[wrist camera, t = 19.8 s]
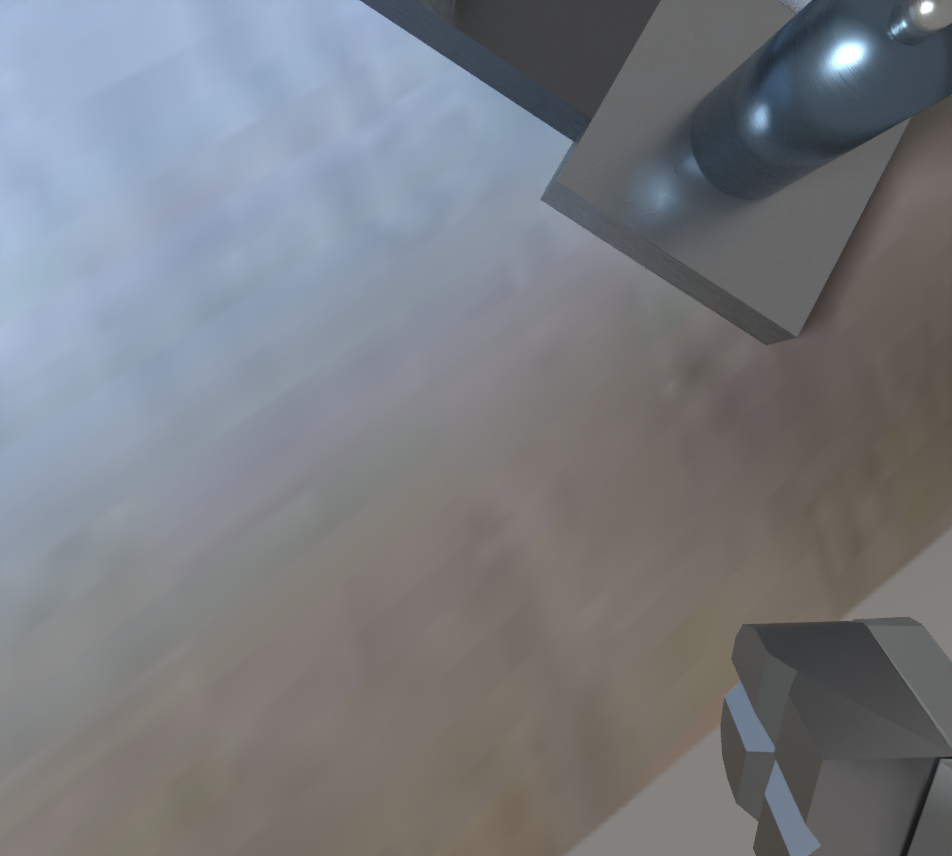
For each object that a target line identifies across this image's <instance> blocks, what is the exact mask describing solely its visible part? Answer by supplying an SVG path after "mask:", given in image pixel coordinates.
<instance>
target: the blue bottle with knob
mask: <svg viewBox="0 0 952 856" xmlns="http://www.w3.org/2000/svg"><path fill="white" fill-rule="evenodd" d="M951 94H952V0H812V1H811V2H810V3H808V4H807V5H806V6H805V7H804V8H803V9H802V10H801V11H800V12H798V13H797V14H796V15H795V16H794V17H793V18H792V19H791V20H790V21H788V22H787V23H786V24H785V25H784V26H783V27H782V28H781V29H780V30H778V31H777V32H776V33H775V34H774V35H773V36H772V37H771V38H770V39H768V40H767V41H766V42H765V43H764V44H763V45H762V46H761V47H760V48H758V49H757V50H756V51H755V52H754V53H753V54H752V55H751V56H750V57H748V58H747V59H746V60H745V61H744V62H743V63H742V64H741V65H740V66H738V67H737V68H736V69H735V70H734V71H733V72H732V73H731V74H730V75H728V76H727V77H726V78H725V79H724V80H723V81H722V82H721V83H720V84H718V85H717V86H716V87H715V88H714V89H713V90H712V91H711V92H710V93H709V94H707V95H706V96H705V97H704V99H703V100H702V101H701V103H700V104H699V106H698V107H697V109H696V112H695V114H694V117H693V121H692V125H691V146H692V151H693V155H694V157H695V160H696V163H697V165H698V167H699V169H700V170H701V172H702V173H703V175H704V176H705V177H706V178H707V180H708V181H709V182H710V183H711V184H712V185H714V186H715V187H716V188H717V189H719V190H720V191H722V192H724V193H725V194H727V195H730V196H732V197H735V198H739V199H746V200H756V199H762V198H765V197H768V196H771V195H773V194H775V193H776V192H778V191H780V190H782V189H784V188H785V187H787V186H789V185H791V184H792V183H794V182H796V181H798V180H800V179H801V178H803V177H805V176H807V175H809V174H810V173H812V172H814V171H816V170H817V169H819V168H821V167H823V166H825V165H826V164H828V163H830V162H832V161H833V160H835V159H837V158H839V157H841V156H842V155H844V154H846V153H848V152H850V151H851V150H853V149H855V148H857V147H858V146H860V145H862V144H864V143H866V142H867V141H869V140H871V139H873V138H874V137H876V136H878V135H880V134H882V133H883V132H885V131H887V130H889V129H891V128H892V127H894V126H896V125H898V124H899V123H901V122H903V121H905V120H907V119H908V118H910V117H912V116H914V115H915V114H917V113H919V112H921V111H923V110H924V109H926V108H928V107H930V106H932V105H933V104H935V103H937V102H939V101H940V100H942V99H944V98H946V97H948V96H949V95H951Z"/></svg>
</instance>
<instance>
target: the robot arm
mask: <svg viewBox="0 0 952 856" xmlns="http://www.w3.org/2000/svg"><path fill="white" fill-rule="evenodd" d="M731 659H732V662H733V664H734V666H735V669H736V671H737V673H738V676H739V678H740V680H741V681H740V682H739V683H738V684H737V685H736V686H735V687H734V688H733V689H732V690H731V691H730V692H729V693H728V694H727V695H726V696H725V697H724V703H723V710H722V718H721V725H720V726H721V742H722V756H723V760H724V765H725V769H726V774H727V778H728V781H729V784H730V787H731V790H732V793H733V795H734V798H735V801H736V803H737V804H738V805H739V806H740V807H741V808H743V809H744V810H745V811H746V812H748V813H749V814H750V815H751V816H752V817H753V818H755V819H756V820H757V821H758V822H759V823H758V827H757V832H756V837H755V841H754V846H753V849H754V852H755V854H756V856H952V662H951V661H950V659H949V658H948V657H947V656H946V654H945V653H944V652H943V651H942V649H941V648H940V646H939V645H938V644H937V643H936V641H935V640H934V639H933V638H932V637H931V635H930V634H929V632H928V631H927V630H926V629H925V627H924V626H923V625H922V624H921V623H919V622H917V621H915V620H914V619H912V618H910V617H896V618H877V619H876V618H875V619H854V620H853V621H831V622H801V623H770V624H743V625H742V627H741V628H740V630H739V632H738V634H737V636H736V638H735V643H734V648H733V653H732V658H731Z"/></svg>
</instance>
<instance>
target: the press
mask: <svg viewBox="0 0 952 856" xmlns="http://www.w3.org/2000/svg"><path fill="white" fill-rule="evenodd" d="M360 1H362V2H364V3H365V4H367V5H368V6H370V7H371V8H373V9H374V10H376V11H377V12H379V13H380V14H382V15H383V16H385V17H386V18H388V19H389V20H391V21H392V22H394V23H395V24H397V25H398V26H400V27H401V28H403V29H404V30H406V31H407V32H409V33H410V34H412V35H414V36H415V37H417V38H418V39H420V40H421V41H423V42H424V43H426V44H427V45H429V46H430V47H432V48H433V49H435V50H436V51H438V52H439V53H441V54H442V55H444V56H445V57H447V58H448V59H450V60H451V61H453V62H454V63H456V64H457V65H459V66H460V67H462V68H464V69H465V70H467V71H468V72H470V73H471V74H473V75H474V76H476V77H477V78H479V79H480V80H482V81H483V82H485V83H486V84H488V85H489V86H491V87H492V88H494V89H495V90H497V91H498V92H500V93H501V94H503V95H504V96H506V97H507V98H509V99H510V100H512V101H513V102H515V103H517V104H518V105H520V106H521V107H523V108H524V109H526V110H527V111H529V112H530V113H532V114H533V115H535V116H536V117H538V118H539V119H541V120H542V121H544V122H545V123H547V124H548V125H550V126H551V127H553V128H554V129H556V130H557V131H559V132H560V133H562V134H563V135H565V136H567V137H568V138H570V139H571V140H573V141H574V142H573V143H572V145H571V147H570V149H569V150H568V152H567V154H566V156H565V157H564V159H563V161H562V162H561V164H560V166H559V168H558V169H557V171H556V173H555V175H554V176H553V178H552V180H551V182H550V183H549V185H548V187H547V189H546V190H545V192H544V194H543V195H542V197H541V200H542V201H544V202H545V203H547V204H548V205H550V206H551V207H553V208H555V209H556V210H558V211H559V212H561V213H562V214H564V215H565V216H567V217H569V218H570V219H572V220H573V221H575V222H576V223H578V224H579V225H581V226H583V227H584V228H586V229H587V230H589V231H590V232H592V233H593V234H595V235H597V236H598V237H600V238H601V239H603V240H604V241H606V242H607V243H609V244H611V245H612V246H614V247H615V248H617V249H618V250H620V251H621V252H623V253H624V254H626V255H628V256H629V257H631V258H632V259H634V260H635V261H637V262H638V263H640V264H642V265H643V266H645V267H646V268H648V269H649V270H651V271H652V272H654V273H656V274H657V275H659V276H660V277H662V278H663V279H665V280H666V281H668V282H670V283H671V284H673V285H674V286H676V287H677V288H679V289H680V290H682V291H684V292H685V293H687V294H688V295H690V296H691V297H693V298H694V299H696V300H697V301H699V302H701V303H702V304H704V305H705V306H707V307H708V308H710V309H711V310H713V311H715V312H716V313H718V314H719V315H721V316H722V317H724V318H725V319H727V320H729V321H730V322H732V323H733V324H735V325H736V326H738V327H739V328H741V329H743V330H744V331H746V332H747V333H749V334H750V335H752V336H753V337H755V338H757V339H758V340H760V341H761V342H763V343H764V344H766V345H768V344H772V343H776V342H780V341H784V340H789V339H793V338H797V337H798V335H799V333H800V331H801V329H802V328H803V326H804V324H805V322H806V320H807V318H808V316H809V314H810V312H811V310H812V308H813V306H814V304H815V302H816V301H817V299H818V297H819V295H820V293H821V291H822V289H823V287H824V285H825V283H826V281H827V279H828V277H829V276H830V274H831V272H832V270H833V268H834V266H835V264H836V262H837V260H838V258H839V256H840V254H841V252H842V250H843V249H844V247H845V245H846V243H847V241H848V239H849V237H850V235H851V233H852V231H853V229H854V227H855V225H856V224H857V222H858V220H859V218H860V216H861V214H862V212H863V210H864V208H865V206H866V204H867V202H868V200H869V198H870V197H871V195H872V193H873V191H874V189H875V187H876V185H877V183H878V181H879V179H880V177H881V175H882V173H883V172H884V170H885V168H886V166H887V164H888V162H889V160H890V158H891V156H892V154H893V152H894V150H895V148H896V146H897V145H898V143H899V141H900V139H901V137H902V135H903V133H904V131H905V129H906V127H907V125H908V123H909V121H910V120H911V118H912V117H910V118H908V119H907V120H905V121H903V122H901V123H899V124H898V125H896V126H894V127H892V128H891V129H889V130H887V131H885V132H883V133H882V134H880V135H878V136H876V137H874V138H873V139H871V140H869V141H867V142H866V143H864V144H862V145H860V146H858V147H857V148H855V149H853V150H851V151H850V152H848V153H846V154H844V155H842V156H841V157H839V158H837V159H835V160H833V161H832V162H830V163H828V164H826V165H825V166H823V167H821V168H819V169H817V170H816V171H814V172H812V173H810V174H809V175H807V176H805V177H803V178H801V179H800V180H798V181H796V182H794V183H792V184H791V185H789V186H787V187H785V188H784V189H782V190H780V191H778V192H776V193H775V194H773V195H771V196H768V197H765V198H762V199H756V200H746V199H739V198H735V197H732V196H730V195H727V194H725V193H724V192H722V191H720V190H719V189H717V188H716V187H715V186H714V185H712V184H711V183H710V182H709V181H708V180H707V178H706V177H705V176H704V175H703V173H702V172H701V170H700V169H699V167H698V165H697V163H696V160H695V157H694V155H693V151H692V146H691V125H692V121H693V117H694V114H695V112H696V109H697V107H698V106H699V104H700V103H701V101H702V100H703V99H704V97H705V96H706V95H707V94H709V93H710V92H711V91H712V90H713V89H714V88H715V87H716V86H717V85H718V84H720V83H721V82H722V81H723V80H724V79H725V78H726V77H727V76H728V75H730V74H731V73H732V72H733V71H734V70H735V69H736V68H737V67H738V66H740V65H741V64H742V63H743V62H744V61H745V60H746V59H747V58H748V57H750V56H751V55H752V54H753V53H754V52H755V51H756V50H757V49H758V48H760V47H761V46H762V45H763V44H764V43H765V42H766V41H767V40H768V39H770V38H771V37H772V36H773V35H774V34H775V33H776V32H777V31H778V30H780V29H781V28H782V27H783V26H784V25H785V24H786V23H787V22H788V21H790V20H791V19H792V18H793V17H794V16H795V15H796V14H795V13H794V12H793V11H791V10H790V9H788V8H787V7H786V6H784V5H783V4H782V3H780V2H779V1H777V0H360Z"/></svg>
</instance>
